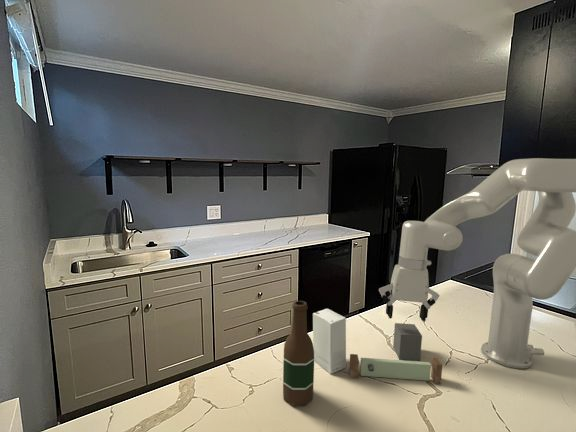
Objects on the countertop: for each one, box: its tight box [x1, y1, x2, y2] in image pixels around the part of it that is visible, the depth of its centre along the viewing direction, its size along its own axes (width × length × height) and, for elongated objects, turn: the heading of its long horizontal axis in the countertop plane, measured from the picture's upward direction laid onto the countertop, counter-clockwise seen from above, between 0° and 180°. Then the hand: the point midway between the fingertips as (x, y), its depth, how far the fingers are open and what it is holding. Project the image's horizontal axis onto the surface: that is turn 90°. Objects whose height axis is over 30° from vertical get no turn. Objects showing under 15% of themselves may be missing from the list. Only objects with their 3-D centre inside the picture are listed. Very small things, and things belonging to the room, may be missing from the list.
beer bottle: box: [282, 300, 315, 407], centre depth 74 cm, size 8×8×24 cm
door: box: [359, 357, 432, 382], centre depth 82 cm, size 18×2×4 cm, turn 85°
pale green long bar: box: [348, 353, 443, 385], centre depth 83 cm, size 23×3×6 cm, turn 85°
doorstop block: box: [392, 322, 423, 362], centre depth 94 cm, size 6×7×8 cm
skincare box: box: [312, 308, 347, 374], centre depth 88 cm, size 8×6×15 cm
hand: (405, 318), depth 93 cm, fingers open, 9 cm apart
